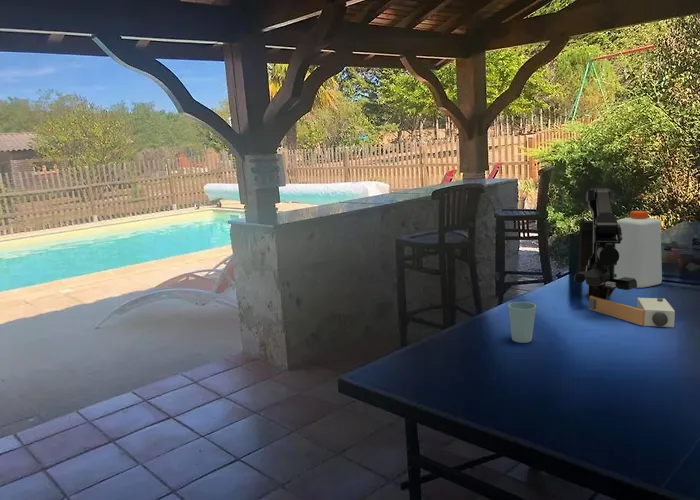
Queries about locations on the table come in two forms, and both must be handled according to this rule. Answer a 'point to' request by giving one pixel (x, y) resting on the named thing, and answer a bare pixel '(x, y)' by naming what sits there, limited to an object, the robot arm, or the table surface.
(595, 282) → the robot arm
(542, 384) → the table surface
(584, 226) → the portable radio
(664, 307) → the camera housing
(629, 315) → the side door
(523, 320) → the cup
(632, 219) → the plastic bottle
